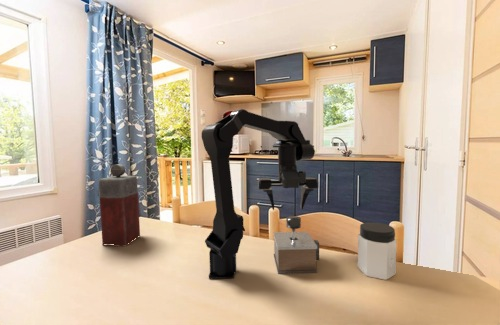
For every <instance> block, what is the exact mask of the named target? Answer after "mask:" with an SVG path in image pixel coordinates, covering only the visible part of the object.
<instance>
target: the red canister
mask: <svg viewBox="0 0 500 325" xmlns="http://www.w3.org/2000/svg"><path fill="white" fill-rule="evenodd" d="M110 173H111V175H112V176H109V177H108V176H107V177H103V178H100V179H99V180H98V196H99V197H98V198H99V210H100V224H101V226H100V227H101V239H102V240H101V241H102V245H103V244H114V245H127V244H128V243H130V242H131V241H132V240H134V239H135V238H137V237H138V236H140V237H141V228H140V203H139V202H140V200H139V191H138V190H139V189H138V178H137V176H135V175H124V174H125V173H126V168H125V166H124V165H123V164H121V163H118V164H116V163H115V164H113V165H111V167H110ZM137 239H138V238H137ZM134 241H135V240H134ZM131 243H132V242H131ZM131 243H130V244H131ZM128 245H129V244H128ZM128 245H127V246H128Z"/></svg>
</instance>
